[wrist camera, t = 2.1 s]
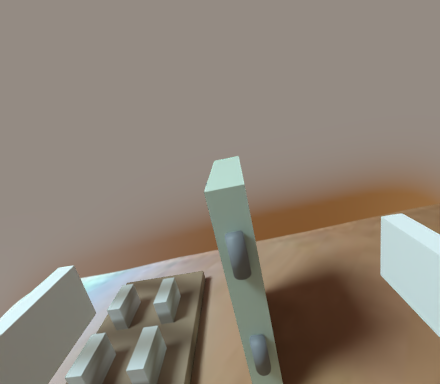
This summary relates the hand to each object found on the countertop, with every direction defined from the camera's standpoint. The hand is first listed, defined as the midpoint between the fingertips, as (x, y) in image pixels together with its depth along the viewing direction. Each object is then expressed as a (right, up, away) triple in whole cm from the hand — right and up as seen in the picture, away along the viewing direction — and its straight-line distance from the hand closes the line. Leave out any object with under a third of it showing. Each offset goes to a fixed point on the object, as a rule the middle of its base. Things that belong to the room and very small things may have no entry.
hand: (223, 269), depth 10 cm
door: (+4, -12, +14) cm, 19 cm away
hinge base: (-9, -14, +16) cm, 23 cm away
